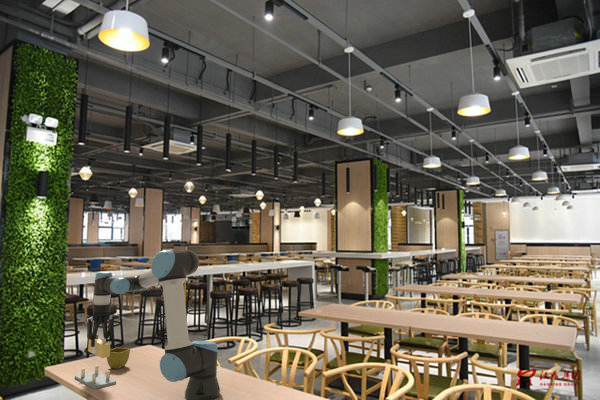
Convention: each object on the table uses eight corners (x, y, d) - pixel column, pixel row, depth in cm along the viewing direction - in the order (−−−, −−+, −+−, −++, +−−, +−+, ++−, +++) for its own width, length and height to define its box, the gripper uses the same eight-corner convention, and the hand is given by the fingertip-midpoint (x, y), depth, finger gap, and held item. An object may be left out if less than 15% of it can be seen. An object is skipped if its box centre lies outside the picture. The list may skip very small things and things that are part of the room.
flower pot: (119, 370, 215) (120, 352, 216) (104, 369, 217) (106, 351, 218) (129, 365, 224) (130, 348, 225) (115, 364, 225) (116, 347, 226)
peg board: (116, 383, 195) (116, 372, 196) (94, 389, 188) (95, 377, 188) (95, 373, 209) (96, 363, 210) (74, 378, 202) (75, 367, 202)
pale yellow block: (109, 356, 197) (110, 339, 197) (102, 358, 194) (103, 340, 195) (95, 349, 207) (96, 333, 208) (87, 351, 205) (89, 334, 205)
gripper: (115, 301, 212) (112, 348, 209) (81, 304, 199) (77, 354, 197) (121, 302, 207) (118, 351, 204) (87, 306, 194) (83, 357, 192)
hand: (98, 352), depth 201 cm, fingers closed on pale yellow block, 3 cm apart
